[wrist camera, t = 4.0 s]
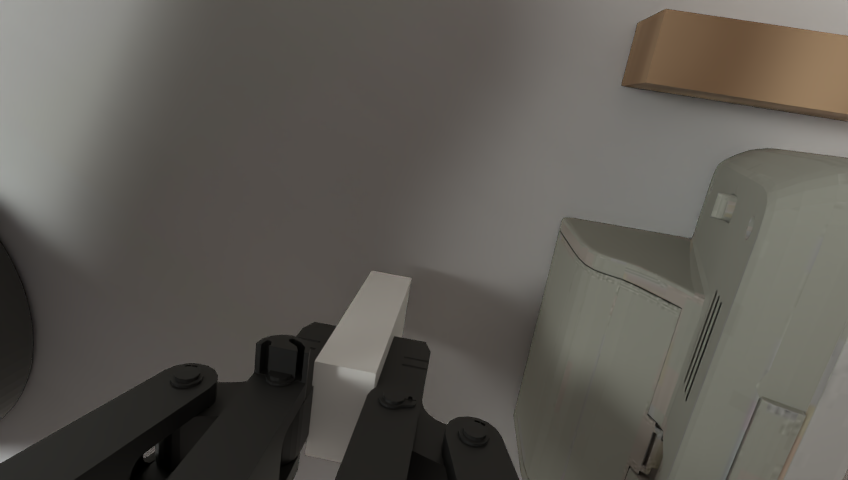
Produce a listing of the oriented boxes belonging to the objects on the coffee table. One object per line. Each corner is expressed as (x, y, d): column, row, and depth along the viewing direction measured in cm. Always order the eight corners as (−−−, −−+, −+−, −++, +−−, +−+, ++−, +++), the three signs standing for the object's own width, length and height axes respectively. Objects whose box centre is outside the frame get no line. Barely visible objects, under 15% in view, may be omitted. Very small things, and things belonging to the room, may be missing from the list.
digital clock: (638, 525, 21) (786, 905, 11) (449, 451, 21) (426, 766, 11) (861, 187, 17) (1456, 317, 7) (620, 93, 17) (843, 77, 7)
